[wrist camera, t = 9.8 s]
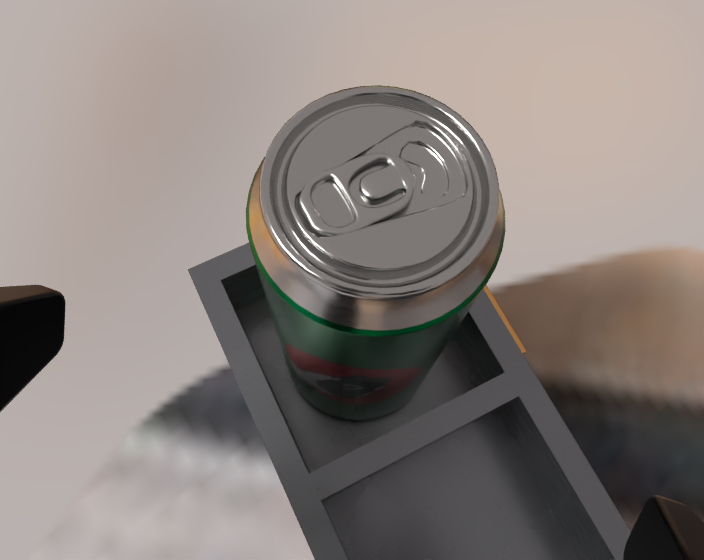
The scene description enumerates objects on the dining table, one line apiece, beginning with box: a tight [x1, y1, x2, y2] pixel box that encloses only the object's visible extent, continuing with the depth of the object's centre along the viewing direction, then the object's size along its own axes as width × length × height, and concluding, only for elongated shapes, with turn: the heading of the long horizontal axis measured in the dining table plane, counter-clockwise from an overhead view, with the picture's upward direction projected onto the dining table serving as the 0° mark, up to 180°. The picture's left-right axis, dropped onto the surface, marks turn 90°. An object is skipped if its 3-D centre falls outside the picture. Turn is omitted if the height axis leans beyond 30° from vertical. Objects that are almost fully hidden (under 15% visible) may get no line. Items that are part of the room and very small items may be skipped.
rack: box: [188, 243, 631, 560], centre depth 19 cm, size 8×23×4 cm, turn 27°
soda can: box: [246, 86, 505, 420], centre depth 17 cm, size 5×5×12 cm
